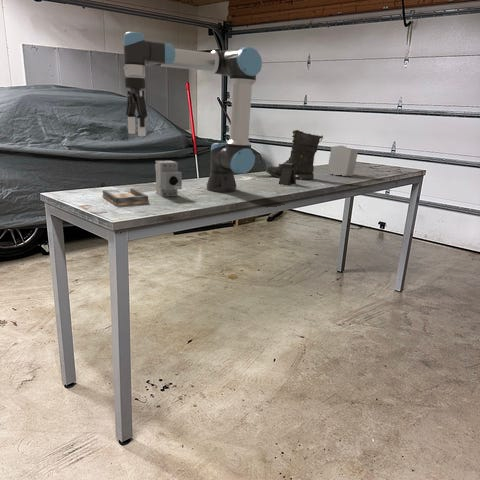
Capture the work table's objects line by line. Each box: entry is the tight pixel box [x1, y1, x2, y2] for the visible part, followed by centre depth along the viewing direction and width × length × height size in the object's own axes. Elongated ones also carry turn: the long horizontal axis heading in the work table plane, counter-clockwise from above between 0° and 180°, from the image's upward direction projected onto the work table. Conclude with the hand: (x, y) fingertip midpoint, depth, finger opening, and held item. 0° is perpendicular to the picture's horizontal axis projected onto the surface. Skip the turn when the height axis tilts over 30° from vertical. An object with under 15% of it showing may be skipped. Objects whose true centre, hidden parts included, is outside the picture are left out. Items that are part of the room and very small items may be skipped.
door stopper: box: [278, 161, 297, 186], centre depth 232 cm, size 9×6×12 cm, turn 140°
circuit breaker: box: [154, 160, 183, 198], centre depth 185 cm, size 8×14×15 cm, turn 32°
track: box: [101, 188, 150, 207], centre depth 174 cm, size 14×18×3 cm
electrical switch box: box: [326, 145, 358, 177], centre depth 278 cm, size 15×15×20 cm
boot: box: [265, 129, 324, 180], centre depth 254 cm, size 12×33×29 cm, turn 78°
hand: (136, 134), depth 163 cm, fingers open, 13 cm apart
